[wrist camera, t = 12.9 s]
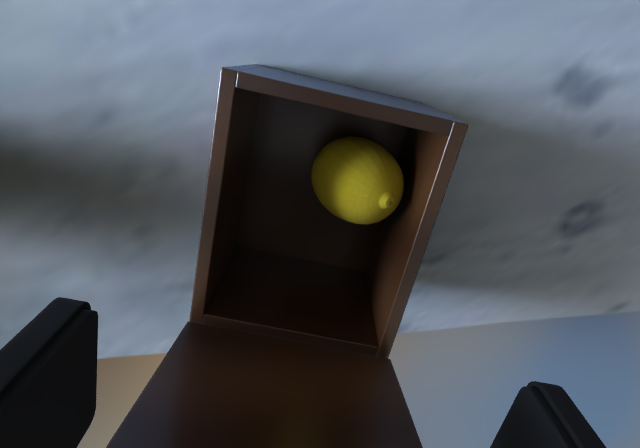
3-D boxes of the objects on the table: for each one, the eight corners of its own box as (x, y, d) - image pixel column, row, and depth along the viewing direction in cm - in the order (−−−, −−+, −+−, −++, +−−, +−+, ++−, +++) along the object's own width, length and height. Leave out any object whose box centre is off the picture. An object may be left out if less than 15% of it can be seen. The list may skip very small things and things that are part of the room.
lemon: (290, 131, 29) (351, 170, 23) (358, 118, 31) (431, 150, 25) (296, 203, 32) (351, 254, 26) (358, 186, 34) (423, 229, 28)
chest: (255, 64, 30) (220, 66, 20) (422, 103, 31) (469, 124, 21) (227, 248, 36) (189, 322, 26) (370, 277, 37) (387, 359, 27)
